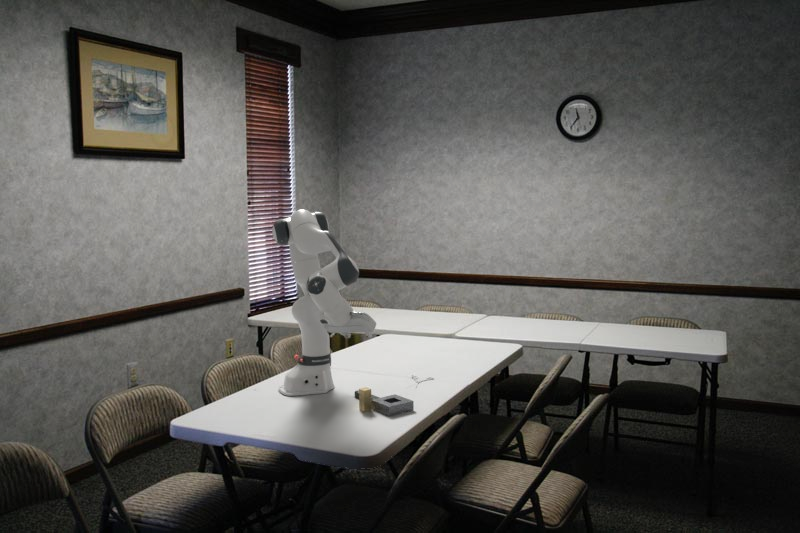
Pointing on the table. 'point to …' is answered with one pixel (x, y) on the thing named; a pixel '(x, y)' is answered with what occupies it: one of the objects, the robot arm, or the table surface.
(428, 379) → the scissors
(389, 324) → the table surface
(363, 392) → the bar
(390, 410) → the grey handled square frame
